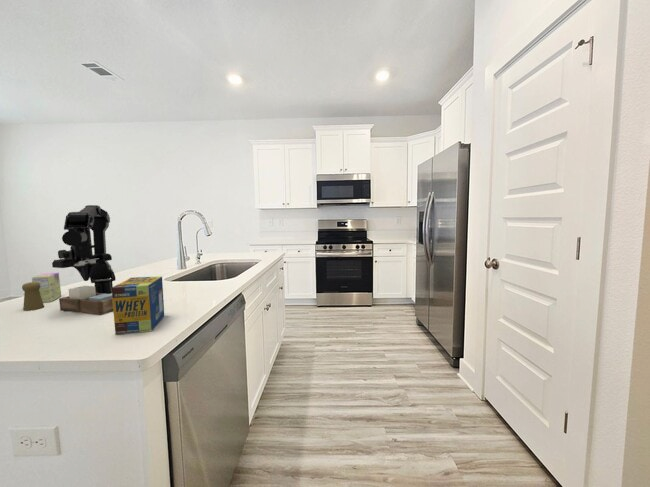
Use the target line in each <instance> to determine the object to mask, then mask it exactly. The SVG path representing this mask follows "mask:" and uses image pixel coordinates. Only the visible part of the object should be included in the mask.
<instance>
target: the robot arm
mask: <svg viewBox="0 0 650 487" xmlns="http://www.w3.org/2000/svg"><path fill="white" fill-rule="evenodd" d="M110 223H111V217H110V215H109V212H108V211H107V210H105V209H103V208H101V206H100V205H96V204H95V205H92V204H91V205H90V204H89V205H85V206H84V207H83V208H82V209H80V210H79V211H71V212H68V213H67V214H66V216H65V219H64V225H63V230H64V231H66V232H64V233H63V235H62V237H61V239H62V242H63V244H65V245H67V246H69V247H70V250H66V249H60V250H57V257H58V258H59V259H54V260H53V262H51V265H52V268H53V269H54V268H56V269H65V268H66V269H67V268H74V269H76V271H77V272H78V274H79V275H80V276H81V278H82V279H83V281H84V282H87V281H89V280H90V283H91V284H94V286H95V292H96V293H104V294H112V287H114V286H113V285H114V284H113V282H114V281H116V280H117V279H116V275H115V271H114V269H113V268H112V265H111V264H110V263H109V261H112V260H113V259H112V257H113V256H112V255H111V254H110V253H107V244H106V242H107V240H106V231H107V230H108V229H109V227H110ZM91 231H92V233H91ZM92 235H93V238H92ZM92 239H93V244H92ZM93 250H94V251H93Z"/></svg>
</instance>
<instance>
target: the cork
mask: <svg viewBox="0 0 650 487" xmlns="http://www.w3.org/2000/svg"><path fill="white" fill-rule="evenodd" d="M21 289H22V291H24V293H23V294H24V296H23V308H22V311H23V312H31V310H32V311H36V310H41V309H43V308H45V305H44V303H43V301H42V298H41V295H40V292H39V289H40V284H39V283H38V282H32V281H31V282H26V283H24V284H22V287H21Z"/></svg>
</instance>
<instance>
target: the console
mask: <svg viewBox="0 0 650 487" xmlns="http://www.w3.org/2000/svg"><path fill="white" fill-rule="evenodd" d="M101 294H104V293H96V296H97V295H101ZM92 297H93V296H92ZM58 299H59V301H58V302H59V311H60V312H61V311H63V312H69V313H78V314H79V313H80V314H86V315H95V316H102V315H106V314H109V313H111V312H113V300H112V298H111V299H107V300H104V301H91V300H89V297H88V298H84V299H71V298H69V295H68V296H64V297H59V298H58Z"/></svg>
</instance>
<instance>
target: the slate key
mask: <svg viewBox="0 0 650 487" xmlns="http://www.w3.org/2000/svg"><path fill="white" fill-rule="evenodd" d="M111 298H112V293H111V294H101V295H97V296H93V297H89V300H91V301H104V300H107V299H111Z"/></svg>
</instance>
